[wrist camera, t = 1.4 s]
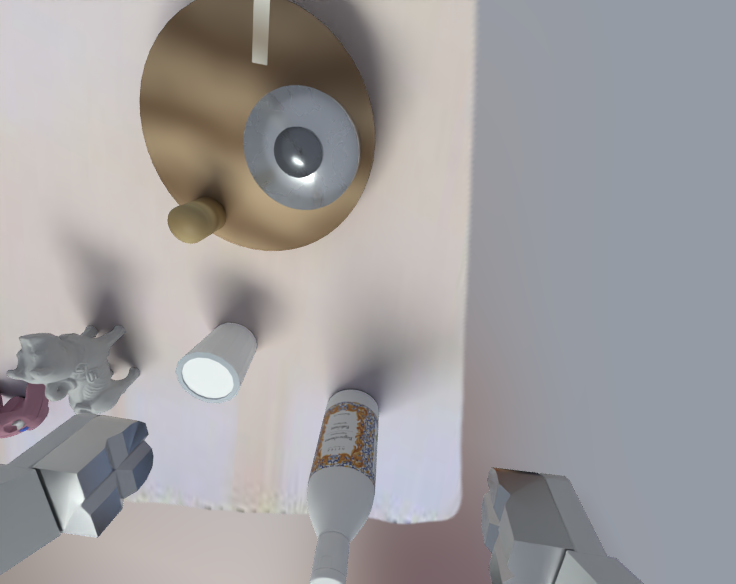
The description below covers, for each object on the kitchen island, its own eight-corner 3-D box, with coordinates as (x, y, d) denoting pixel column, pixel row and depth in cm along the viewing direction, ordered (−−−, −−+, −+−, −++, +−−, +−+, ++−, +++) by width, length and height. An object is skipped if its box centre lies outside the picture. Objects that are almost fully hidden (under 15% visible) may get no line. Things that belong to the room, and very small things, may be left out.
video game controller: (16, 395, 52) (-14, 445, 48) (-18, 383, 48) (-53, 436, 44) (70, 384, 50) (45, 435, 46) (39, 371, 47) (8, 424, 42)
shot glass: (221, 307, 41) (190, 340, 35) (272, 338, 42) (250, 375, 36) (198, 345, 44) (165, 383, 37) (246, 373, 45) (222, 413, 39)
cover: (259, 78, 28) (239, 71, 24) (370, 101, 28) (366, 97, 24) (255, 192, 32) (237, 201, 28) (352, 211, 32) (347, 222, 28)
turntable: (140, -28, 27) (80, -64, 22) (396, 25, 27) (397, 2, 22) (161, 225, 35) (122, 241, 30) (355, 262, 36) (348, 285, 31)
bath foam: (373, 384, 44) (359, 561, 26) (383, 424, 47) (377, 608, 29) (321, 390, 45) (274, 564, 27) (334, 429, 48) (298, 609, 30)
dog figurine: (113, 297, 42) (29, 348, 32) (146, 382, 47) (83, 448, 37) (71, 297, 42) (-25, 348, 32) (109, 382, 47) (37, 447, 38)
